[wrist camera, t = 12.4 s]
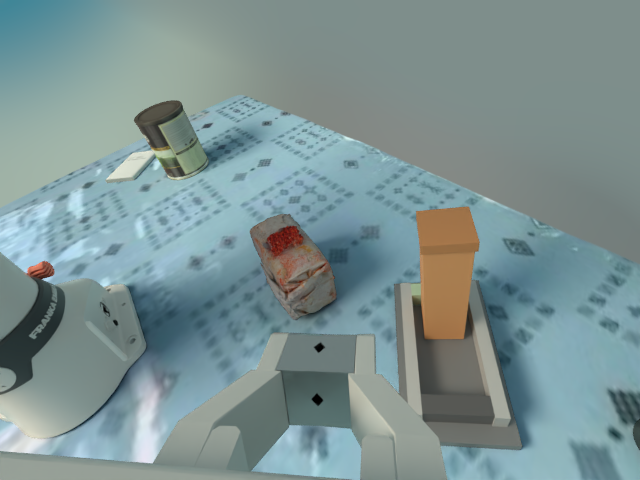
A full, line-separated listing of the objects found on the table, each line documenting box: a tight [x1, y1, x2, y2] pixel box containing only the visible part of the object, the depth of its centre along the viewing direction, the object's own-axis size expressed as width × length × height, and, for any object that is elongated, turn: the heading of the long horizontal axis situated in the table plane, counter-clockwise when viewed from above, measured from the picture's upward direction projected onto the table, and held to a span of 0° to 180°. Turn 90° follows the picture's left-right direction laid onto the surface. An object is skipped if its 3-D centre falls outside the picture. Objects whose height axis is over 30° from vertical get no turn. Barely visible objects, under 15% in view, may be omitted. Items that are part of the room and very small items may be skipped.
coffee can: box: [134, 101, 209, 180], centre depth 78 cm, size 10×10×14 cm
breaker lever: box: [416, 207, 480, 339], centre depth 34 cm, size 4×4×15 cm
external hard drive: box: [105, 151, 156, 183], centre depth 90 cm, size 2×8×12 cm
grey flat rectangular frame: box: [394, 280, 522, 450], centre depth 37 cm, size 18×10×3 cm, turn 174°
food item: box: [250, 214, 336, 320], centre depth 46 cm, size 14×8×10 cm, turn 30°
